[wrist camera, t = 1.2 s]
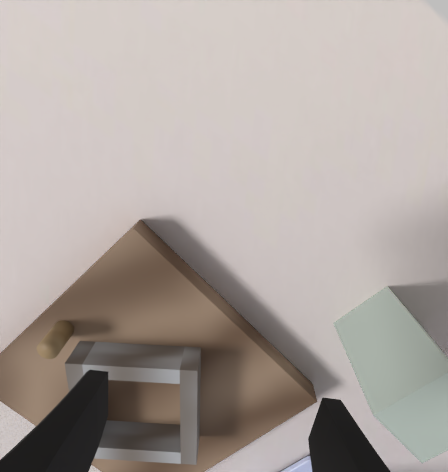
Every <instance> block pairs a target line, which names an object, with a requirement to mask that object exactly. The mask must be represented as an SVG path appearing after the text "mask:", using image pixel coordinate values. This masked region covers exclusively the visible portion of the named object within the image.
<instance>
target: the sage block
mask: <svg viewBox="0 0 448 472" xmlns="http://www.w3.org/2000/svg"><path fill="white" fill-rule="evenodd" d="M334 325H335V328H336V330H337V332H338V335H339V337H340V339H341V342H342V344H343V346H344V349H345V351H346V353H347V356H348V358H349V360H350V363H351V365H352V367H353V370H354V372H355V374H356V376H357V379H358V381H359V383H360V386H361V388H362V390H363V393H364V395H365V397H366V400H367V402H368V404H369V407H370V409H371V411H372V414H373V416H374V417H376V418H377V419H378V420H379V421H380V422H381V423H382V424H383V425H384V426H385V427H386V428H387V429H388V430H389V431H390V432H391V433H392V434H393V435H394V436H395V437H396V438H397V439H398V440H399V441H400V442H401V443H402V444H403V445H404V446H405V447H406V448H407V449H408V450H409V451H410V452H411V453H412V454H413V455H414V456H415V457H416V458H417V459H418V460H419V461H420V462H421V463H424V462H426V461H428V460H430V459H432V458H434V457H436V456H438V455H440V454H441V453H443V452H445V451H447V450H448V357H447V356H446V355H445V353H444V352H443V351H442V350H441V349H440V347H439V346H438V345H437V344H436V342H435V341H434V340H433V339H432V338H431V336H430V335H429V334H428V333H427V332H426V330H425V329H424V328H423V327H422V326H421V324H420V323H419V322H418V321H417V320H416V319H415V317H414V316H413V315H412V314H411V313H410V312H409V311H408V309H407V308H406V307H405V306H404V305H403V304H402V302H401V301H400V300H399V299H398V298H397V297H396V295H395V294H394V293H393V292H392V291H391V290H390V288H389V287H388V286H387V287H386V288H384V289H383V290H381V291H380V292H378V293H377V294H375V295H374V296H372V297H371V298H370V299H368V300H367V301H365V302H364V303H362V304H361V305H359V306H358V307H356V308H355V309H353V310H352V311H351V312H349V313H348V314H346V315H345V316H343V317H342V318H340V319H339V320H337V321H336V322H334Z"/></svg>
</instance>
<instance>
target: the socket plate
mask: <svg viewBox="0 0 448 472" xmlns="http://www.w3.org/2000/svg"><path fill="white" fill-rule="evenodd" d="M88 370H98V371H106V372H108V418H107V421H106V424H105V428H104V431H103V434H102V437H101V440H100V444H99V447H98V450H97V452H96V454H95V457H94V459H93V462H92V464H91V465H93V466H94V467H96V468H97V469H99V470H100V471H102V472H204V471H206V470H207V469H209V468H211V467H212V466H214V465H215V464H217V463H219V462H220V461H222V460H224V459H225V458H227V457H228V456H230V455H232V454H233V453H235V452H236V451H238V450H240V449H241V448H243V447H244V446H246V445H248V444H249V443H251V442H253V441H254V440H256V439H257V438H259V437H261V436H262V435H264V434H265V433H267V432H269V431H270V430H272V429H274V428H275V427H277V426H278V425H280V424H282V423H283V422H285V421H286V420H288V419H290V418H291V417H293V416H294V415H296V414H298V413H299V412H301V411H303V410H304V409H306V408H307V407H309V406H311V405H312V404H314V403H315V402H317V399H316V395H315V391H314V388H313V384H312V383H311V382H310V381H309V380H308V379H307V378H306V377H305V376H304V375H303V374H302V373H301V372H300V371H298V370H297V369H296V368H295V367H294V366H293V365H292V364H291V363H290V362H289V361H288V360H287V359H286V358H285V357H284V356H283V355H282V354H281V353H280V352H279V351H278V350H277V349H275V348H274V347H273V346H272V345H271V344H270V343H269V342H268V341H267V340H266V339H265V338H264V337H263V336H262V335H261V334H260V333H259V332H258V331H257V330H256V329H255V328H253V327H252V326H251V325H250V324H249V323H248V322H247V321H246V320H245V319H244V318H243V317H242V316H241V315H240V314H239V313H238V312H237V311H236V310H235V309H234V308H233V307H232V306H230V305H229V304H228V303H227V302H226V301H225V300H224V299H223V298H222V297H221V296H220V295H219V294H218V293H217V292H216V291H215V290H214V289H213V288H212V287H211V286H210V285H208V284H207V283H206V282H205V281H204V280H203V279H202V278H201V277H200V276H199V275H198V274H197V273H196V272H195V271H194V270H193V269H192V268H191V267H190V266H189V265H188V264H187V263H185V262H184V261H183V260H182V259H181V258H180V257H179V256H178V255H177V254H176V253H175V252H174V251H173V250H172V249H171V248H170V247H169V246H168V245H167V244H166V243H165V242H163V241H162V240H161V239H160V238H159V237H158V236H157V235H156V234H155V233H154V232H153V231H152V230H151V229H150V228H149V227H148V226H147V225H146V224H145V223H144V222H143V221H142V220H139V221H138V222H137V223H136V224H135V225H134V226H133V227H132V228H131V229H130V230H129V231H128V232H127V233H126V234H125V235H124V236H123V237H122V238H121V239H119V240H118V241H117V242H116V243H115V244H114V245H113V246H112V247H111V248H110V249H109V250H108V251H107V252H106V253H105V254H104V255H103V256H102V257H101V258H100V259H99V260H98V261H96V262H95V263H94V264H93V265H92V266H91V267H90V268H89V269H88V270H87V271H86V272H85V273H84V274H83V275H82V276H81V277H80V278H79V279H78V280H77V281H76V282H75V283H74V284H72V285H71V286H70V287H69V288H68V289H67V290H66V291H65V292H64V293H63V294H62V295H61V296H60V297H59V298H58V299H57V300H56V301H55V302H54V303H53V304H52V305H51V306H49V307H48V308H47V309H46V310H45V311H44V312H43V313H42V314H41V315H40V316H39V317H38V318H37V319H36V320H35V321H34V322H33V323H32V324H31V325H30V326H29V327H28V328H26V329H25V330H24V331H23V332H22V333H21V334H20V335H19V336H18V337H17V338H16V339H15V340H14V341H13V342H12V343H11V344H10V345H9V346H8V347H7V348H6V349H5V350H3V351H2V352H1V353H0V401H1V402H2V403H4V404H5V405H7V406H8V407H10V408H11V409H13V410H14V411H15V412H17V413H18V414H20V415H21V416H23V417H24V418H25V419H27V420H28V421H30V422H31V423H33V424H34V425H35V426H37V425H38V424H39V423H40V422H41V421H42V420H43V419H44V418H45V417H46V416H47V415H48V414H49V413H50V412H51V411H52V410H53V409H54V408H55V407H56V406H57V404H58V403H59V402H60V401H61V400H62V399H63V398H64V397H65V396H66V395H67V394H68V393H69V391H70V390H71V389H72V388H73V387H74V386H75V385H76V384H77V382H78V381H79V380H80V379H81V378H82V377H83V375H84V374H85V373H86V372H87V371H88Z"/></svg>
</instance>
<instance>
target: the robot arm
mask: <svg viewBox="0 0 448 472" xmlns="http://www.w3.org/2000/svg"><path fill="white" fill-rule="evenodd" d="M107 418H108V372H106V371H98V370H88V371H87V372H86V373H85V374H84V375H83V377H82V378H81V379H80V380H79V381H78V382H77V384H76V385H75V386H74V387H73V388H72V389H71V390H70V391H69V393H68V394H67V395H66V396H65V397H64V398H63V399H62V400H61V401H60V402H59V403H58V404H57V406H56V407H55V408H54V409H53V410H52V411H51V412H50V413H49V414H48V415H47V416H46V417H45V418H44V419H43V420H42V421H41V422H40V423H39V424H38V425H37V426H36V427H35V428H34V429H33V430H32V431H31V432H30V433H29V434H28V435H27V436H26V437H24V438H23V439H22V440H21V441H20V442H19V443H18V444H17V445H16V446H15V447H14V448H13V449H12V450H11V451H10V452H9V453H7V454H6V455H5V456H4V457H3V458H2V459H1V460H0V472H88V471H89V469H90V466H91V464H92V462H93V459H94V457H95V454H96V452H97V450H98V447H99V444H100V440H101V437H102V434H103V431H104V428H105V424H106V421H107ZM308 440H309V449H310V456H307V457H305V458H303V459H302V460H300V461H298V462H296V463H295V464H293V465H291V466H289V467H288V468H286V469H284V470H282V471H281V472H390V470H389V469H388V468H387V466H386V465H385V464H384V462H383V461H382V459H381V458H380V457H379V455H378V454H377V452H376V451H375V450H374V448H373V447H372V445H371V444H370V443H369V441H368V440H367V438H366V437H365V435H364V434H363V432H362V431H361V429H360V428H359V427H358V425H357V424H356V422H355V421H354V419H353V418H352V416H351V415H350V413H349V412H348V410H347V409H346V407H345V406H344V404H343V403H342V401H341V400H337V399H329V398H322V401H321V404H320V407H319V410H318V413H317V415H316V418H315V421H314V424H313V427H312V430H311V433H310V436H309V439H308Z"/></svg>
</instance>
